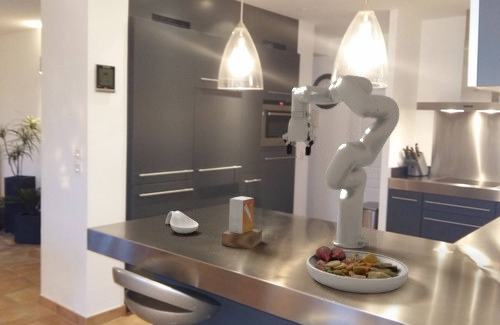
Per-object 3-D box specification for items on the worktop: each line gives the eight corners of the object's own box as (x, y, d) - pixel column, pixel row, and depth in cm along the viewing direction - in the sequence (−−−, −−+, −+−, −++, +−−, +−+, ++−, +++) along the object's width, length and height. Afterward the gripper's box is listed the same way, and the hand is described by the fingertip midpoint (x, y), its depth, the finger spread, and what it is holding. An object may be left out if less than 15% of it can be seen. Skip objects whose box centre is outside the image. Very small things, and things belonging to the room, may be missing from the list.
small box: (242, 234, 176) (243, 200, 175) (228, 232, 179) (229, 198, 178) (253, 230, 183) (254, 197, 181) (239, 228, 186) (240, 195, 185)
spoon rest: (202, 234, 195) (203, 217, 194) (176, 237, 189) (176, 219, 189) (181, 223, 215) (181, 207, 215) (157, 225, 209) (157, 209, 209)
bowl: (423, 280, 143) (425, 255, 143) (378, 306, 121) (380, 276, 120) (338, 259, 163) (339, 237, 163) (286, 278, 141) (287, 253, 140)
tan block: (261, 242, 185) (262, 230, 184) (251, 249, 173) (251, 236, 173) (233, 239, 189) (233, 227, 188) (221, 246, 177) (222, 233, 177)
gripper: (321, 116, 202) (319, 155, 203) (288, 116, 212) (287, 153, 214) (312, 115, 196) (310, 156, 197) (278, 115, 207) (277, 154, 208)
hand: (298, 154), depth 205 cm, fingers open, 9 cm apart
